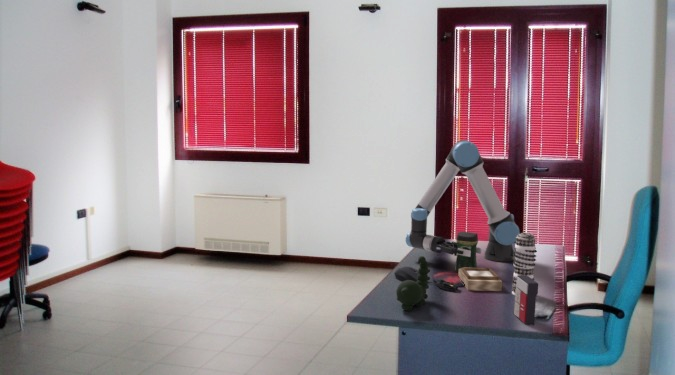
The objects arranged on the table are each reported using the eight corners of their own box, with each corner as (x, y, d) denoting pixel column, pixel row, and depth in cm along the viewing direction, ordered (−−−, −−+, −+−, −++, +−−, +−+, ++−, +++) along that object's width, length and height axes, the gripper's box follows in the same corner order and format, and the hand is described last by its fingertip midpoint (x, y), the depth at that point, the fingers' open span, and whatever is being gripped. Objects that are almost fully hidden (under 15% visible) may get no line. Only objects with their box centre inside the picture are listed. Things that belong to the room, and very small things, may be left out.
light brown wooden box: (489, 277, 284) (490, 266, 284) (501, 290, 264) (502, 278, 264) (458, 277, 284) (458, 265, 283) (467, 290, 264) (468, 278, 264)
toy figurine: (411, 300, 254) (388, 312, 232) (414, 253, 254) (391, 260, 231) (434, 304, 250) (413, 316, 228) (437, 256, 250) (416, 263, 227)
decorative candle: (535, 292, 263) (539, 233, 260) (532, 298, 255) (536, 237, 251) (512, 289, 267) (516, 230, 264) (509, 295, 258) (512, 234, 255)
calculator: (512, 314, 234) (515, 274, 232) (524, 314, 234) (526, 274, 233) (524, 325, 223) (526, 283, 221) (536, 324, 224) (538, 283, 222)
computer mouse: (401, 274, 288) (401, 263, 287) (464, 289, 266) (464, 276, 266) (388, 278, 280) (389, 266, 280) (452, 294, 259) (452, 281, 259)
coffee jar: (478, 271, 296) (480, 231, 293) (474, 275, 289) (476, 234, 286) (457, 268, 300) (459, 229, 297) (453, 272, 293) (455, 232, 290)
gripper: (447, 248, 313) (487, 256, 298) (421, 255, 298) (462, 264, 283) (447, 233, 312) (488, 241, 297) (421, 239, 297) (463, 247, 282)
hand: (475, 252), depth 290 cm, fingers closed on coffee jar, 8 cm apart
